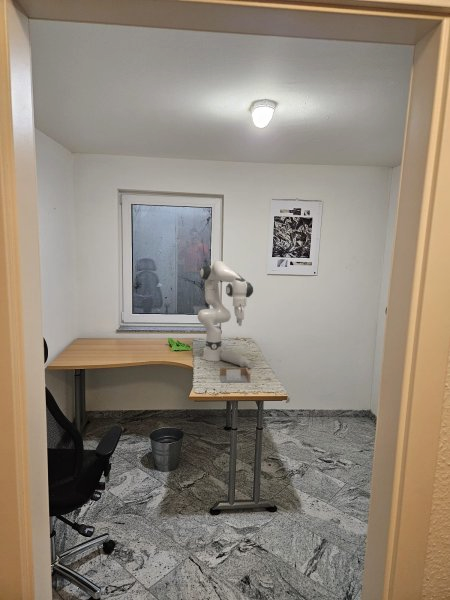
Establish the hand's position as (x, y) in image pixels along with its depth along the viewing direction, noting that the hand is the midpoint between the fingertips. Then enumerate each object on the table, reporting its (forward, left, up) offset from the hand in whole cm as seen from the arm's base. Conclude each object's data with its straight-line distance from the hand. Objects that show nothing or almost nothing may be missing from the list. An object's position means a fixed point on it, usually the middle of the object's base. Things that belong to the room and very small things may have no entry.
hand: (238, 324), depth 236 cm
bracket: (+11, -4, -34) cm, 35 cm away
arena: (+8, -3, -34) cm, 35 cm away
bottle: (-24, +1, -34) cm, 42 cm away
